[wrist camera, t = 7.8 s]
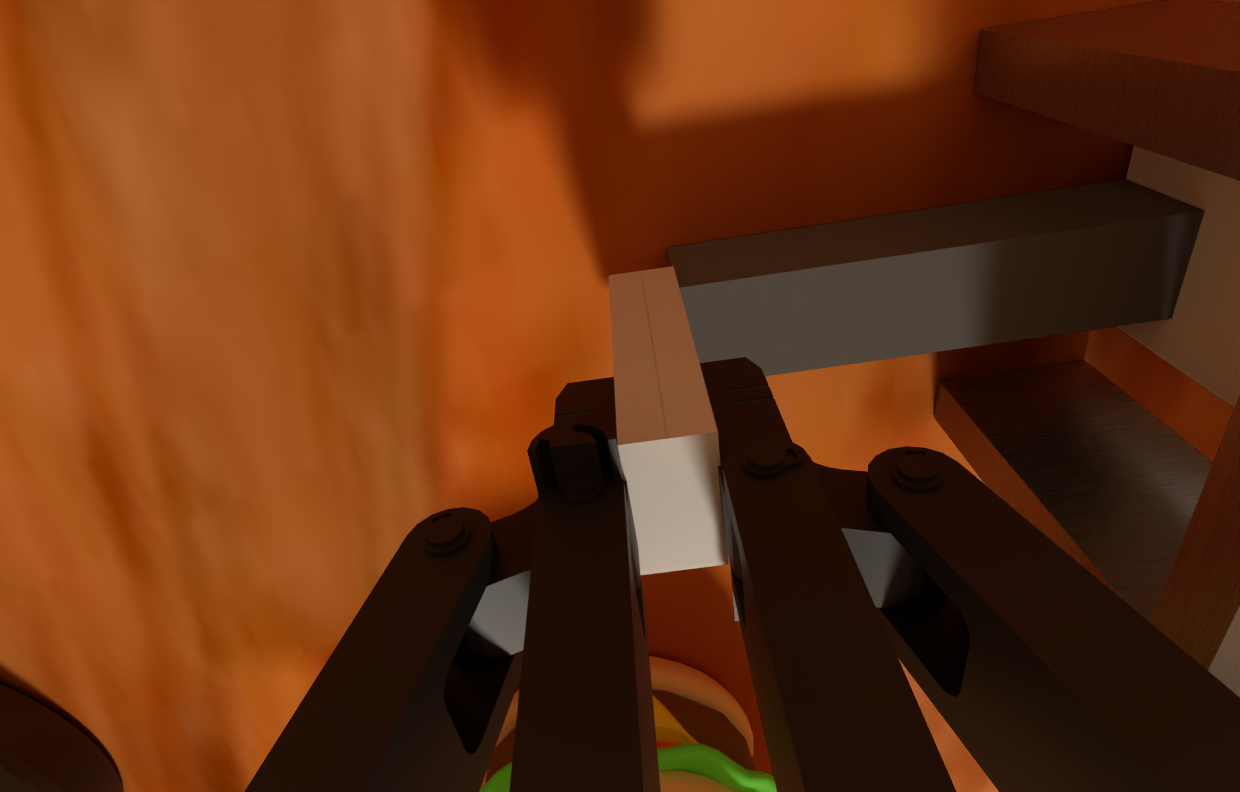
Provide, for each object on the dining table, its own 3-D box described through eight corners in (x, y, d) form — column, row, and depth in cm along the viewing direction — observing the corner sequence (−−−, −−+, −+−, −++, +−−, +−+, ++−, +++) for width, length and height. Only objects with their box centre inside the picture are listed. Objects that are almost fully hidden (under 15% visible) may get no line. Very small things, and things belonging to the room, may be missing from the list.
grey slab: (934, 417, 20) (1177, 735, 12) (980, 29, 15) (1478, 112, 6) (1075, 398, 20) (1422, 707, 12) (1174, -2, 15) (1934, 44, 6)
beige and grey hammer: (680, 370, 19) (722, 557, 13) (662, 207, 16) (704, 344, 11) (1288, 283, 18) (1627, 439, 12) (1360, 101, 16) (1826, 182, 10)
